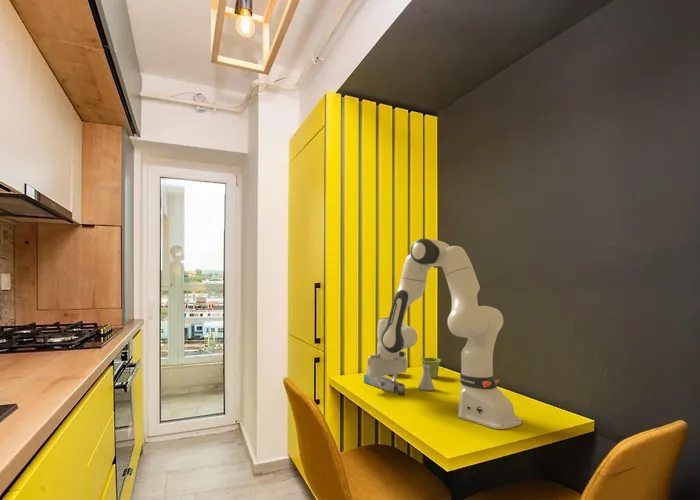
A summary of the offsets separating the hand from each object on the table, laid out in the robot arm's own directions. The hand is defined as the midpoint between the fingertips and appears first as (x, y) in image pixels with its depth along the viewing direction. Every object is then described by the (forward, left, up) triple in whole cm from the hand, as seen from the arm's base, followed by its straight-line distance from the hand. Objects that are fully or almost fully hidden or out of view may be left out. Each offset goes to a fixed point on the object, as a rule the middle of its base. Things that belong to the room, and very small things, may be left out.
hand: (387, 384), depth 174 cm
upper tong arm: (+3, +2, -1) cm, 4 cm away
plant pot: (+5, -31, -2) cm, 31 cm away
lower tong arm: (+3, -2, -1) cm, 4 cm away
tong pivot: (-10, 0, -2) cm, 10 cm away
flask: (-9, -15, -2) cm, 18 cm away
